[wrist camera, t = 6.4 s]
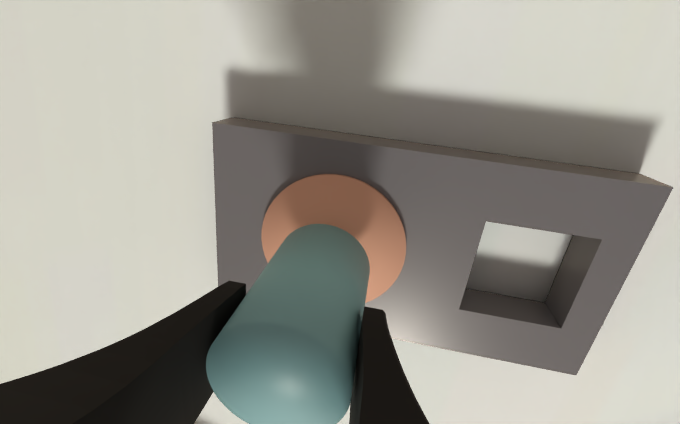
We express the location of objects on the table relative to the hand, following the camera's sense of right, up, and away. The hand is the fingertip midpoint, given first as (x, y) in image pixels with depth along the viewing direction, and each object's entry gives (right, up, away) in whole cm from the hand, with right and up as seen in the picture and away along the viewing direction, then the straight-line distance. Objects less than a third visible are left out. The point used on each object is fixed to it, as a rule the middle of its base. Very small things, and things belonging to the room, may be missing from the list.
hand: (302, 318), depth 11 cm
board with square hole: (+5, +2, +7) cm, 8 cm away
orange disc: (+1, +2, +5) cm, 6 cm away
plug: (+1, +1, +3) cm, 3 cm away
